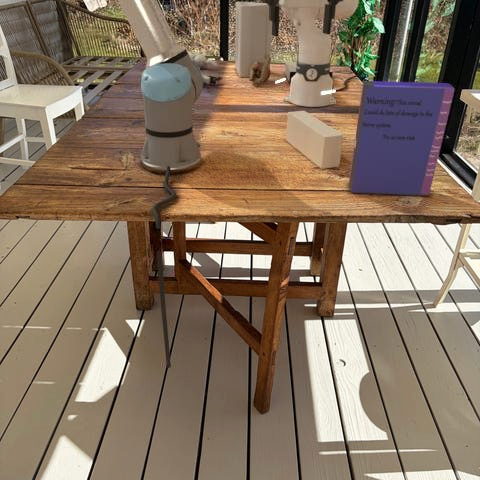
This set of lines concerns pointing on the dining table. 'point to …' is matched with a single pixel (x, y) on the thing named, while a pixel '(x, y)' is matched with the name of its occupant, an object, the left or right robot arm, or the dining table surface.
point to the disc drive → (294, 70)
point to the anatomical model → (260, 71)
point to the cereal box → (399, 137)
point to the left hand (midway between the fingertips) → (301, 34)
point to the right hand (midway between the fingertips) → (312, 25)
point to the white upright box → (252, 35)
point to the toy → (201, 59)
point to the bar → (314, 139)
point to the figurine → (211, 79)
